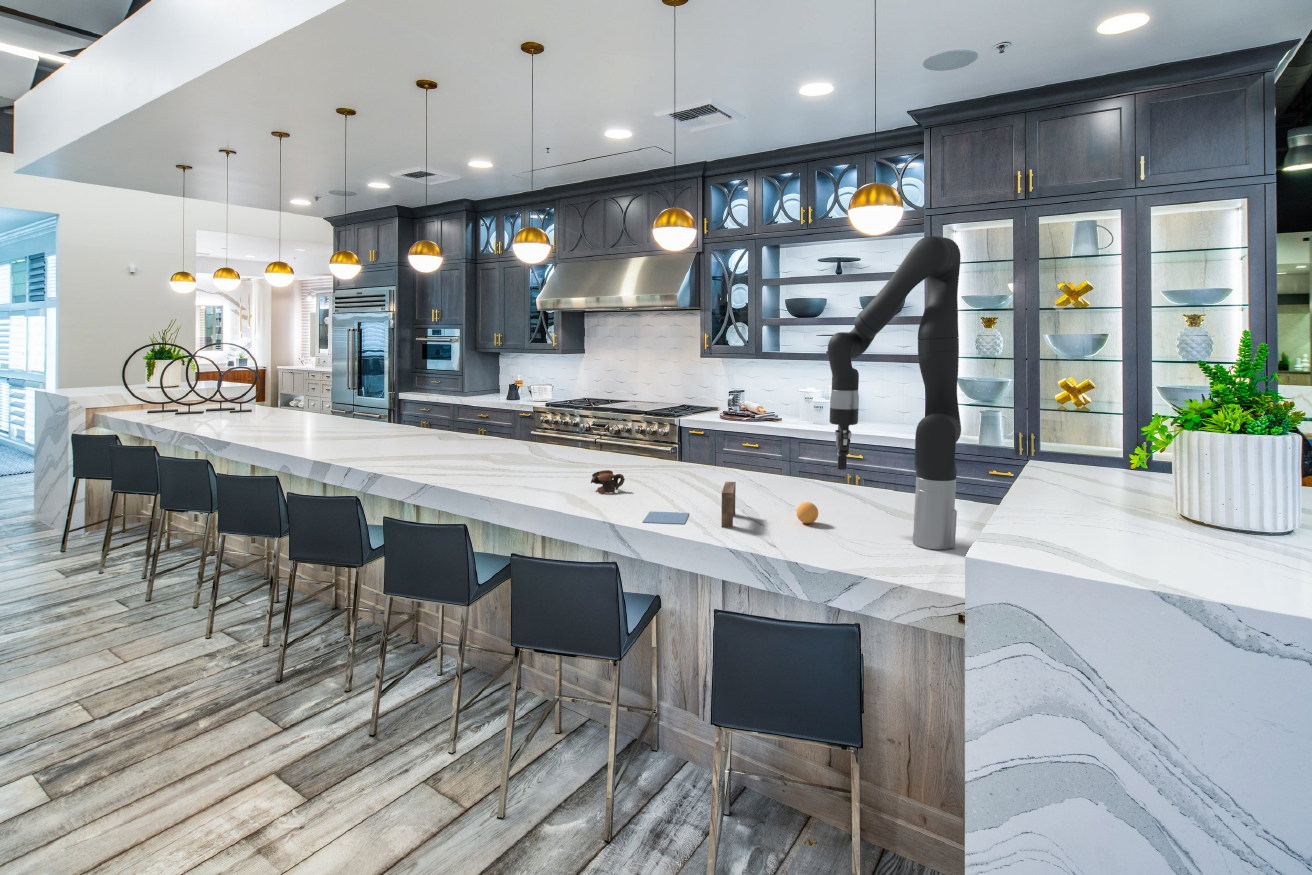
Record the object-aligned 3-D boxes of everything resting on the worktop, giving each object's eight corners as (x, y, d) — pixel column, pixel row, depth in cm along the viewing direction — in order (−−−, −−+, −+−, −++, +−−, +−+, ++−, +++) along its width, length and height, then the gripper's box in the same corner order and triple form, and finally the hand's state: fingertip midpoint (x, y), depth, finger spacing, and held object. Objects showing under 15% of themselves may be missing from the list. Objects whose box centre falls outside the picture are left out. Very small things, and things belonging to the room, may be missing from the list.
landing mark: (689, 513, 204) (689, 512, 204) (684, 524, 192) (684, 523, 192) (649, 512, 206) (649, 511, 206) (642, 522, 194) (642, 521, 194)
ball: (817, 520, 195) (817, 500, 194) (818, 526, 189) (819, 505, 188) (795, 520, 196) (796, 499, 195) (796, 525, 190) (797, 504, 189)
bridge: (735, 513, 203) (735, 481, 202) (732, 527, 188) (732, 493, 187) (725, 513, 204) (725, 481, 202) (721, 527, 189) (721, 492, 188)
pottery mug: (589, 495, 230) (586, 472, 233) (597, 502, 239) (594, 479, 242) (624, 487, 229) (619, 464, 232) (630, 494, 237) (626, 471, 240)
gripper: (861, 409, 179) (858, 474, 182) (855, 404, 192) (853, 465, 194) (832, 408, 180) (829, 473, 183) (828, 404, 193) (825, 464, 196)
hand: (841, 469), depth 189 cm, fingers closed
